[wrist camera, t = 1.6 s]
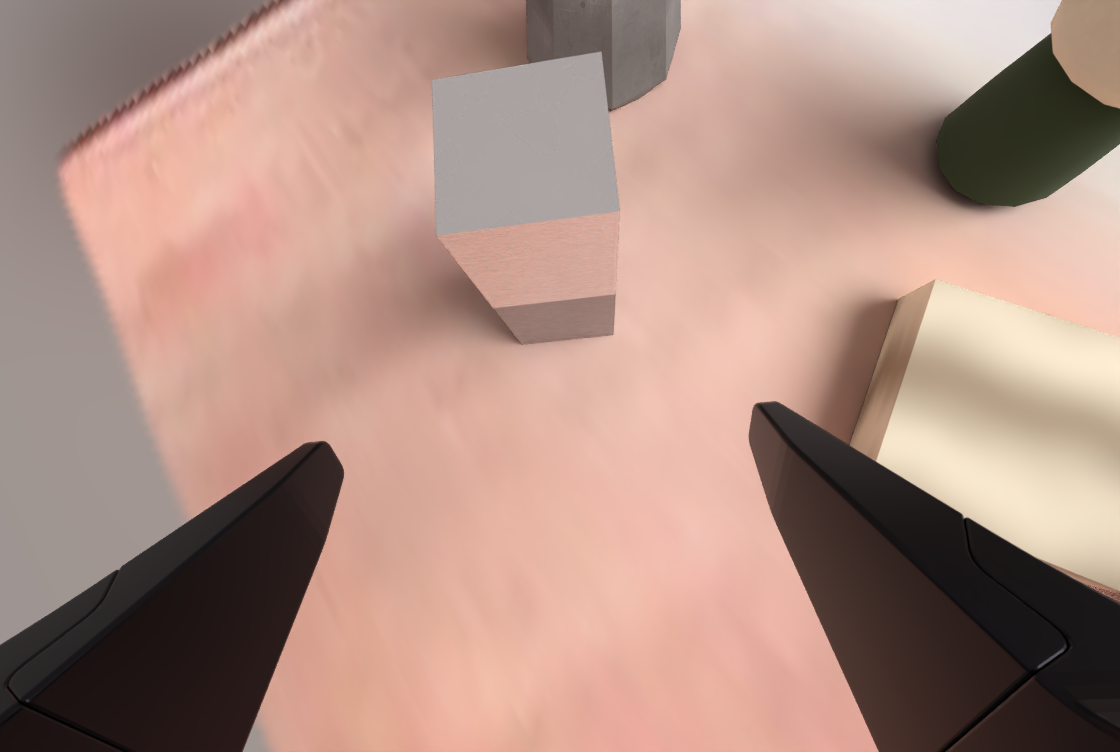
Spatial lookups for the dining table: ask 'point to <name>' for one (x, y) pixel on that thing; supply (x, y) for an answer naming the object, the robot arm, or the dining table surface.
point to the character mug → (1040, 112)
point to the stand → (1004, 423)
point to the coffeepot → (608, 39)
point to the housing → (531, 193)
